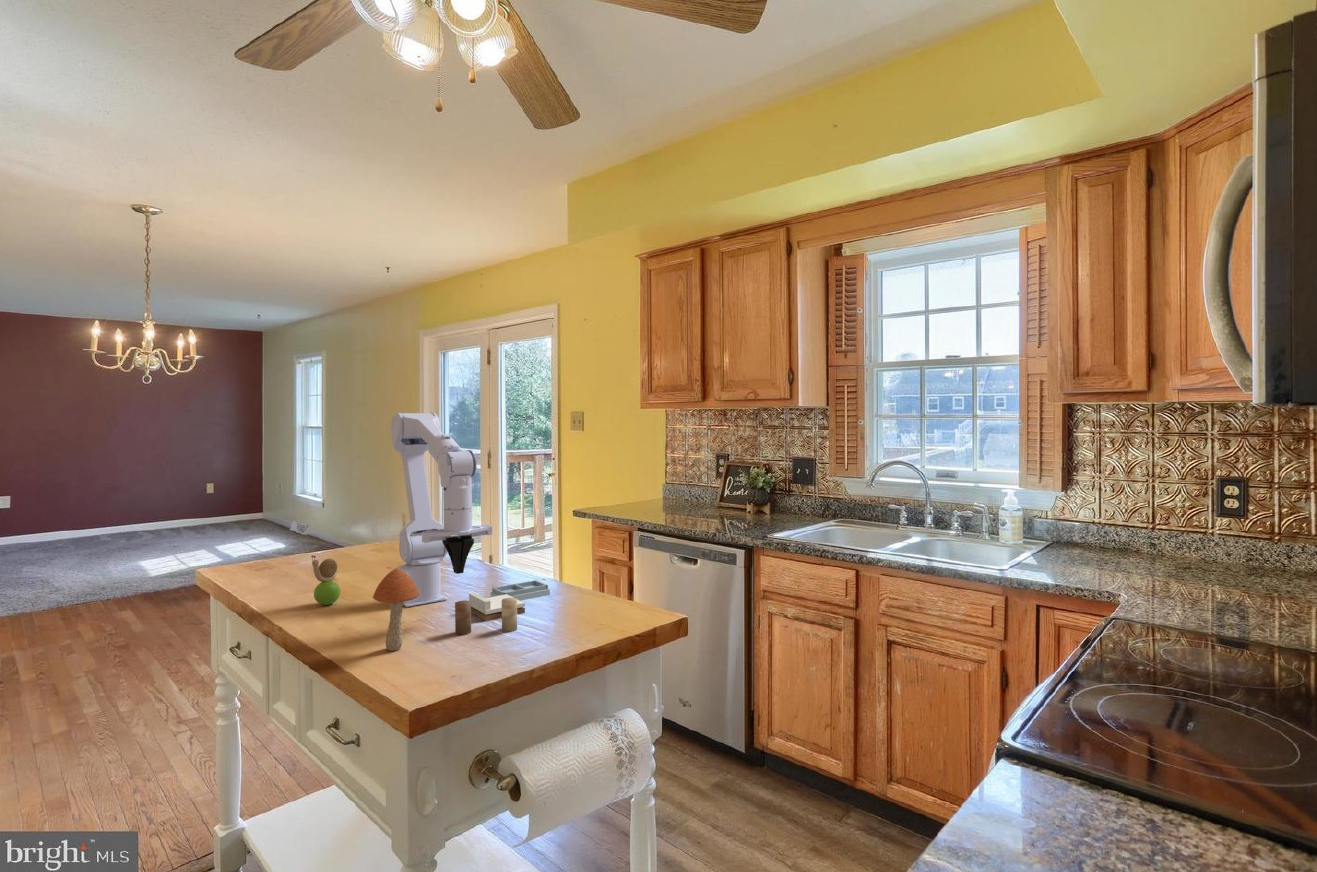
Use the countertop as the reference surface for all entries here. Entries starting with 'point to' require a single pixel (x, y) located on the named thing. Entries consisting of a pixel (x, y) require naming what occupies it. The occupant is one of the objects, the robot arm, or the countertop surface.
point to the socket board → (522, 590)
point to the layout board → (493, 614)
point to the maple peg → (509, 614)
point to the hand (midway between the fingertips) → (458, 572)
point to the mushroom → (395, 602)
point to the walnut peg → (462, 617)
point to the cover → (490, 603)
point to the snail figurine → (326, 581)
